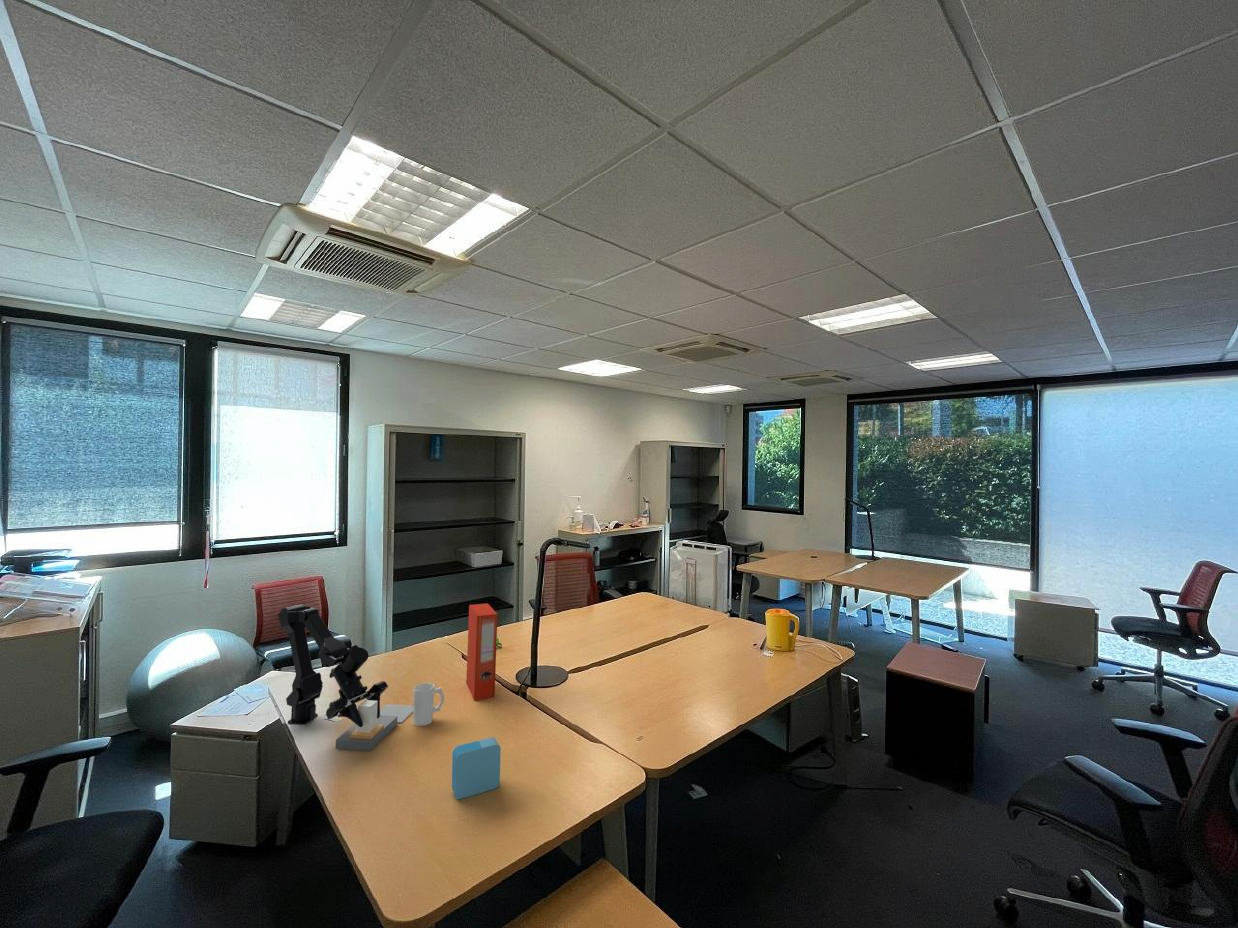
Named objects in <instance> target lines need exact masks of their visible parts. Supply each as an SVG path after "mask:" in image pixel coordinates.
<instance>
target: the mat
mask: <svg viewBox="0 0 1238 928" xmlns="http://www.w3.org/2000/svg"><path fill="white" fill-rule="evenodd" d="M380 715H383V716H397V724H403V723H404V722H405V721H406V720H407V719H408V718H409V717H410V716H411V715H413V705H411V704H392V703H391V704H389V703H387V704H385V705H384V706H383V707H382V708H380Z"/></svg>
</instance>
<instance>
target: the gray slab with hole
mask: <svg viewBox="0 0 1238 928" xmlns="http://www.w3.org/2000/svg"><path fill="white" fill-rule="evenodd" d="M377 724H384V728H383V729H382V730H380V731H379V732H378V733H377V734H376V735H375V736H374V737H373V738H372V739H363V738H350V734H351V733H352V732H353V731H354V730H356V729H357V728H358V725H357V724H355V723H354V724H353V725H352V726H350V728H349V729H347V730H346V731H345V732H344V733H342V734H341V735H339V737H337V738H336V739H335V749H336V750H348V751H361V752H362V751H364V752H365V751H366V752H370V751H372V749H373V748H375V747H376V746H377V744H379V743H380V742H381V741H382V740H383V739H384V738H385V737H386V736H387V735H388V734H389V733H390V732H392V730H393V729H395V728H396V726H398V723H397V716H383V715H380V717H379V718H378V719H377Z"/></svg>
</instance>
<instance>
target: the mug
mask: <svg viewBox="0 0 1238 928" xmlns="http://www.w3.org/2000/svg"><path fill="white" fill-rule="evenodd" d="M435 686H436V685H435V684H434V683H432V682H422V683H419V684H417V685H415V686H414V687H413V713H412V715H413V717H412V718H413V720H412V721H413V722H412V724H413V725H414V726H417V727H423V726H428V725H429V724H431V723H432V722H433V720H434V714H435V713H436V712H441V708H442V706H443V704H444V700H445V694H444V692H443V690H442V687H436V688H435ZM435 694H439V696H440V702H439V704H438V705H437V706H434V702H435Z"/></svg>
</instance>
